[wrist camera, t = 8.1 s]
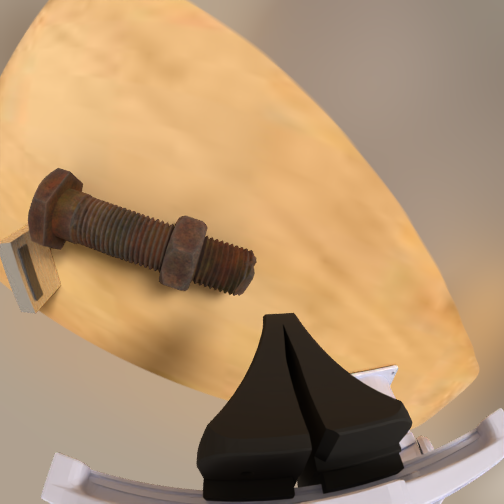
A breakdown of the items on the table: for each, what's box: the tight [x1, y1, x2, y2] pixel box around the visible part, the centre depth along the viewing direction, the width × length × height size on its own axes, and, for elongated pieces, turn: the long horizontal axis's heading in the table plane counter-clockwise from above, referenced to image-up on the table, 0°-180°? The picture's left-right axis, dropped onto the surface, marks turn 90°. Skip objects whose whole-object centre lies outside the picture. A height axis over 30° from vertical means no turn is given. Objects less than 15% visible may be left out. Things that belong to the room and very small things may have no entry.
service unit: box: [0, 224, 61, 313], centre depth 17 cm, size 6×2×4 cm, turn 1°
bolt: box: [28, 168, 256, 296], centre depth 17 cm, size 6×5×15 cm
